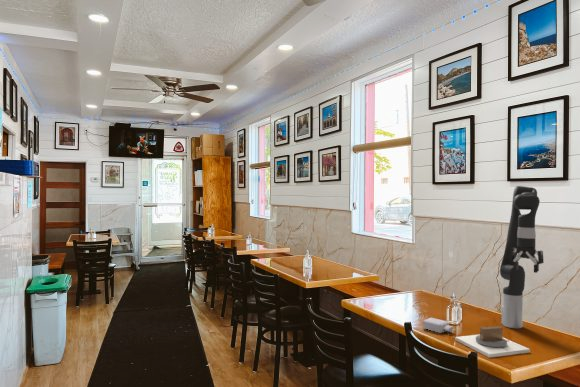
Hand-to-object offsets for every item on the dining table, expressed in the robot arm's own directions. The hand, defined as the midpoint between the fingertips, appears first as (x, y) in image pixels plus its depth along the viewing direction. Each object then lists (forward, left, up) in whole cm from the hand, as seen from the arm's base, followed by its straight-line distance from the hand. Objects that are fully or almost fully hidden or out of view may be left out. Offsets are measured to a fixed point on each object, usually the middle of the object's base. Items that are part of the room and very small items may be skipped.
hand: (526, 271), depth 197 cm
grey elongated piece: (-26, -28, -35) cm, 51 cm away
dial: (-1, -19, -32) cm, 38 cm away
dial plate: (-1, -19, -34) cm, 39 cm away
